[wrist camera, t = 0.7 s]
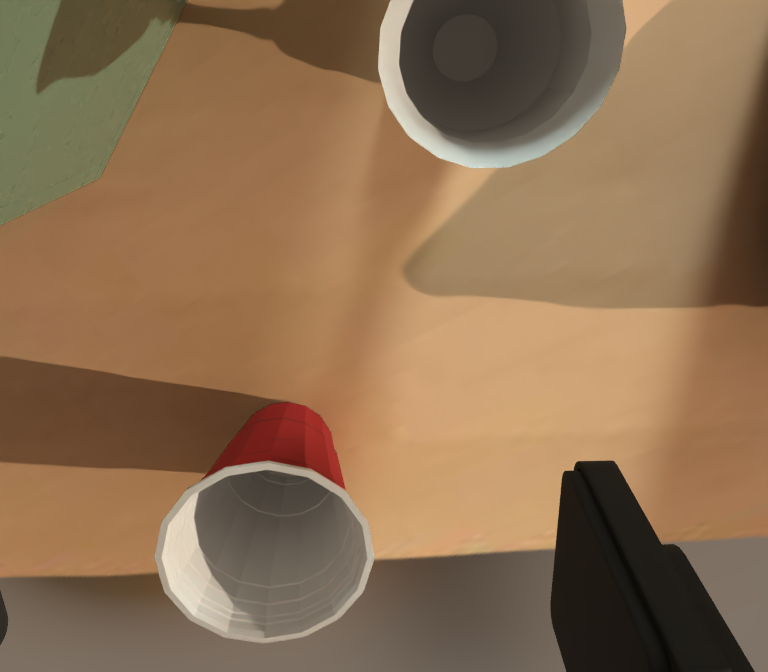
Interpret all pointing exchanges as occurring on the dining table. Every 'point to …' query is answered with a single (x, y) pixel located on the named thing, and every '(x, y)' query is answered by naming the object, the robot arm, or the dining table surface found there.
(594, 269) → the dining table surface
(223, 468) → the plastic cup
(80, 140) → the mini fridge
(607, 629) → the robot arm
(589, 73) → the chalice
